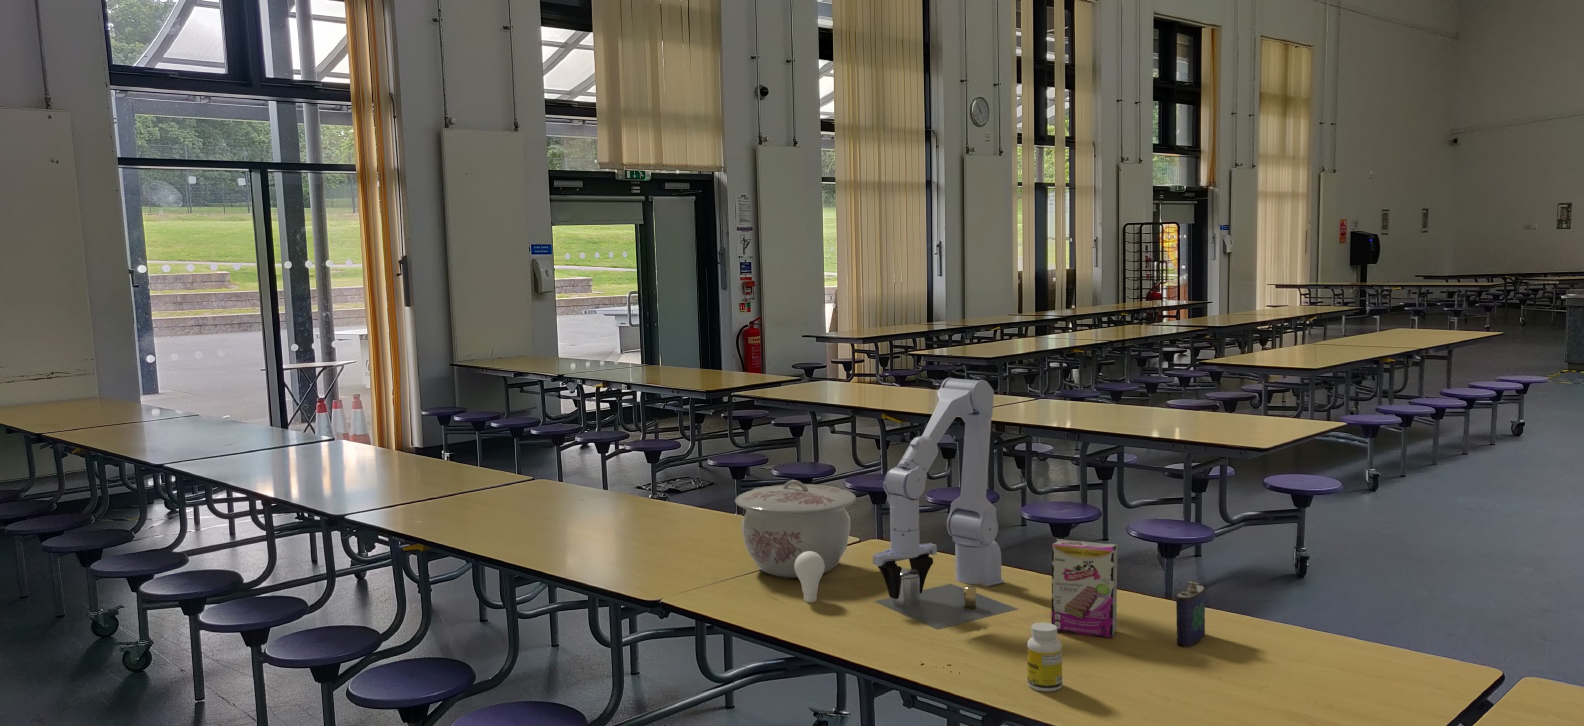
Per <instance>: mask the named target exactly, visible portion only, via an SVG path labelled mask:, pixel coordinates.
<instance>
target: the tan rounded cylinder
mask: <svg viewBox="0 0 1584 726" xmlns="http://www.w3.org/2000/svg"><path fill="white" fill-rule="evenodd" d="M962 588H964V591H963V594H964V608H965V609H975V608H976V593H977V587H976V586H975V585H964V586H963V587H962Z"/></svg>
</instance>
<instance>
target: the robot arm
mask: <svg viewBox="0 0 1584 726" xmlns="http://www.w3.org/2000/svg"><path fill="white" fill-rule="evenodd" d="M994 394H995V390H994V389H993V388H992V386H991V385H990V383H989V382H988V381H986V380H985V379H979V380H977V379H964V378H963V379H962V378H953V377H947V378H945V379H944V380H943V381H942V383H941V385H940V387H939V389H938V390H937V392H936V397H937V404H936V406H935V408H934V409H933V413H932V415H931V417H930V419H929V421H928V422H927V424H926V427H925V428H924V431H923V433H922V434H921V436H916V437H913V439H912V440H911V441H910V443H909V445H908V447H907V449H906V450H905V452H904V454H903V455H902V457H901V458H900V461H899V462H898V464H897V465H896V466H895V467H893V468H891V469H890V470H888V471H887V472H886V475H885V476H884V481H883V482H882V488H883V490H884V492H885V494H886V497H887V502H888V504H889V520H890V521H889V524H890V528H889V529H890V535H889V536H890V546H889V548H887V549H885V550H882V551H881V552H878V553H873V554H872V564H873V565H875V566H877V568H878V569H879V571H880V573H881V575H882V577H883V579H884V583H885V585H886V589H887V592H888V598H890V597H891V598H894V599H898V596H899V579H900V573H901V570H902V569H903V567H901V566H900V565H898V563H896V562H899V561H905V560H908V562H909V564H910V565H909V566H910V569H914V570H917V571H919V577H920V593H922V590H924V586H925V582H926V578H927V576H928V573H929V570H930V569H931V567H932V566H933V564H934V558H933V557H930V555H932V556H935V555H937V553H938V548H937V546H938V545H937V544H934V543H931V542H929V543H920V497H921V496H922V494H923V493H924V492H925V488H926V484H927V483H926V481H927V478H928V474H927V473H928V472H929V469H930V468H931V466H932V465H933V463H934V461H935V459H936V457H937V456H938V454H939V448H938V447H939V446H938V443H939V442H940V440H941V439H942V438H943V436H944V434H946V433H947V431H948V429H949V428H950V426H951V425H952V423H953V422H954V420H955V419H956V418H957V417H960V418H961V419H962V421H963V422H964V425H965V427H964V440H963V451H962V452H963V454H962V469H961V470H962V471H961V481H960V482H961V483H960V484H961V486H960V496H958V497H957V498H956V499H955V500H953V501H952V502H951V503H950V510H949V514H948V516H947V519H946V529H947V532H948V534H949V536H950V537H951V538H952V539H951V540H952V542H954V543H955V544H954V545H955V548H954V552H955V553H954V555H955V580H956V581H957V582H959V583H961V584H962V583H963V584H968V585H983V586H986V587H992V586H996V585H1000V584H1003V583H1005V580H1004V579H1002V551H1001V548H1000V545H999V544H998V542H996V540H995V539H996V538H997V535H998V532H999V524H998V520H997V508H996V507H995V505H993V503H992V502H991V501H990V500H988V498H987V488H988V487H987V486H988V474H989V473H988V472H989V471H988V469H989V461H990V460H989V457H990V444H991V443H990V442H991V431H992V430H991V428H992V418H993V411H994V410H993V409H994V399H995V398H994V396H995V395H994Z"/></svg>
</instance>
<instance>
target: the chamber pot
mask: <svg viewBox="0 0 1584 726" xmlns="http://www.w3.org/2000/svg"><path fill="white" fill-rule="evenodd" d="M856 498H857V496H856V495H855V493H853V492H851V491H850V490H847V489H843V488H840V487H836V486H833V485H832V486H831V485H826V484H825V485H824V484H812V483H802V482H801V481H800V480H797V479H796V480H795V479H790V480H787V481H786V483H784V484H776V485H771V486H770V485H769V486H762V487H759V488H758V487H756V488H752V489H751V490H748V491H745V492H742V493H741V494H738V496H737V497H736V498H735V499H734V502H735V504H736V505H737V506H738V507H740V508H743V509H745V514H744V516H743V517H742V520H741V533H742V537H743V541H744V546H745V549H746V550H747V552H748V554H749V555H750V557H751V559H752V561H754V563H755V565H756V567H757V568H759V570H761V572H764V573H766V574H769V575H771V576H774V577H778V578H785V579H786V578H787V579H799V578H798V576H797V574H796V572H795V569H794V565H795V561H796V559H797V557H798V556H799V555H800V554H802V553H803V552H806V551H813V552H816V553H817V554H819V555H820V556H821V557H822V559H823V561H824V564H825V569H824V572H823V574H825V573H827V572H830V571H831V570H833V569H834V568H835V567H836V566H837V565H838V564H839V562H840V560H841V558H842V556H843V555H844V553H845V552H846V550H847V547H848V544H849V542H848V541H849V538H850V531H851V517H850V514H849V513H848V511H847V510H846V507H848V506H850V505H851V504H853V503H855V502H856V500H857V499H856Z"/></svg>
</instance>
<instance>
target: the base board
mask: <svg viewBox="0 0 1584 726" xmlns="http://www.w3.org/2000/svg"><path fill="white" fill-rule="evenodd" d="M963 591H964V588H963V587H961V586H958V585H955V584H953V583H948V584H943V585H939V586H934V587H930V588H925V589H923V590H922V593H920V603H919V604H917V605H913V606H899V605H896V604H893V602H892V598H891V597H887V598H882V599H877V600H873V603H876V604H879V605H881V606H882V607H885V608H887V609H890V610H892V611H894V612H897V613H899V614H901V615H904V616H905V617H908V618H911V619H913V620H915V621H918V622H920V623H922V624H924V625H926V626H929V627H931V628H933V629H936V630H942V629H946V628H949V627H953V626H957V625H961V624H965V623H969V622H972V621H977V620H981V619H984V618H988V617H993V616H996V615H1000V614H1004V613H1008V612H1011V611H1016V610H1018V608H1017V607H1014V606H1012V605H1008V604H1006V603H1003V602H1001V601H999V600H995V599H992V598H990V597H988V596H986V595H982V594H979V593H977V592H976V608H975V609H965V608H964V594H963Z"/></svg>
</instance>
